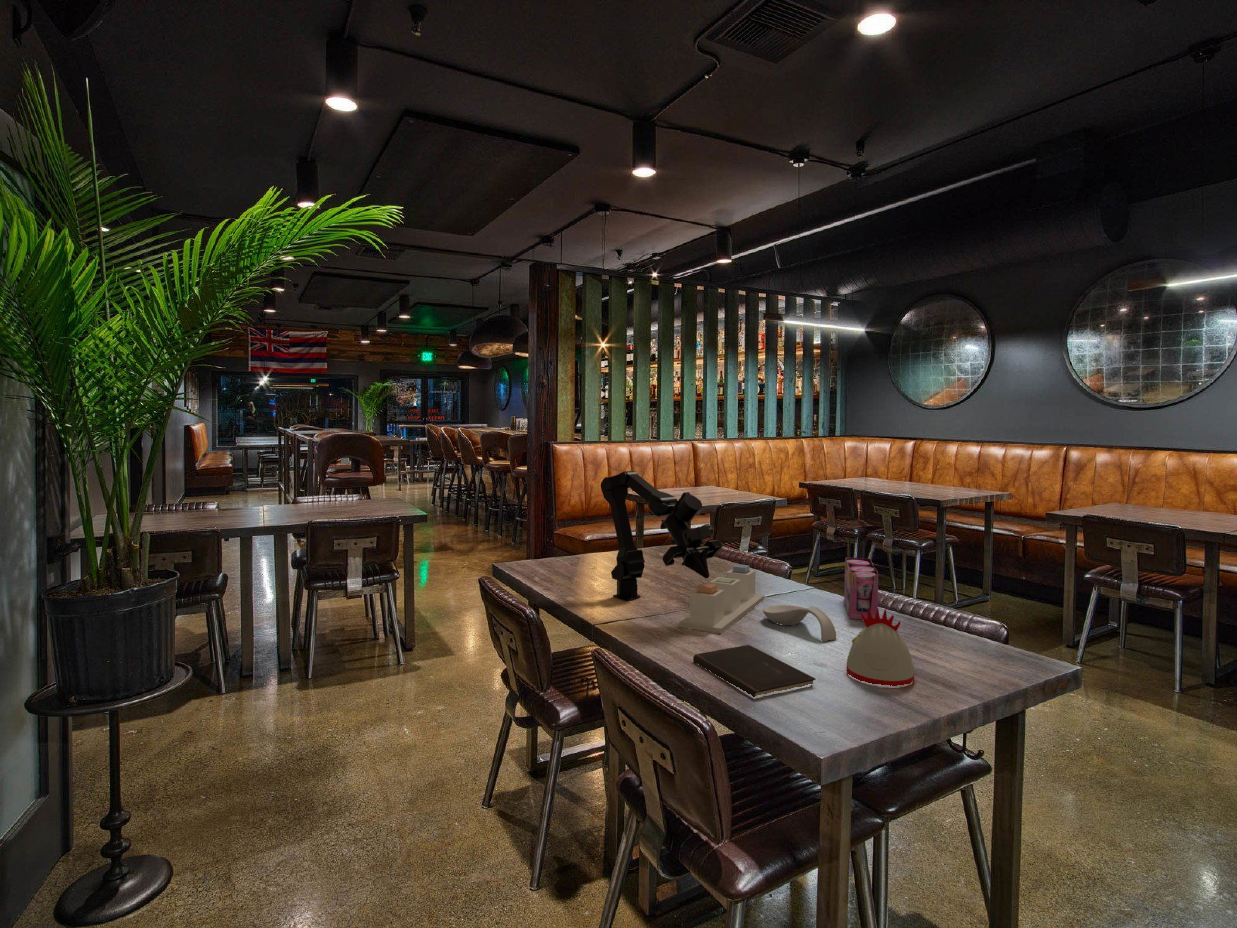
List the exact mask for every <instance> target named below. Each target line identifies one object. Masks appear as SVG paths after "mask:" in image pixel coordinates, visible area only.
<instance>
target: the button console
mask: <svg viewBox="0 0 1237 928" xmlns="http://www.w3.org/2000/svg"><path fill="white" fill-rule="evenodd" d="M725 575H726V577H725V578H726V579H734V582H732V583H731V584H729V583H722V582H716V581H717V580H718V579H720V578H724V577H722V576H717V577H716V578H714V579H712V580H711V581H709V584H715V585H717V592H716V593H715V594H713V595H711V594H704V593H698V588H696V589H694V590H693V591H691V592H690V596H689V597H690V599H689V600H690V607H689V608H690V609H689V610H690V612H689V613H690V614H689V615H687V616H686V617H684V618H683V619H681V620H680V621H679V628H683V629H687V630H688V629H689V630H694V629H698V630H697V631H700V630H703V631H702V632H706V631H708V633H711V632H712V633H713V634H717V633H722V634H723V633H725V632H726V631H727V630H728V629H730V628H731V627H732V626H734V625H735V624H736V623H737V622H738V621H740V620H741V619H742V618H744V617H745V616H746V615H748V613H747V612H749V611H750V610H751V609H752V610H754V609H755V608H756V607H757V606H759V605H760V604H761V603H763V602H764V601H765V595H762V594H756V570H754V569H749V573H747V574H743V573H734V572H733V568H732V569H730V570H728V571H726V574H725ZM763 600H764V601H763ZM762 601H763V602H762ZM760 602H761V603H760ZM759 603H760V604H759ZM758 604H759V605H758ZM756 605H757V606H756ZM755 606H756V607H755ZM754 607H755V608H754ZM753 608H754V609H753ZM752 610H751V611H752ZM751 611H750V612H751ZM750 612H749V613H750ZM743 616H744V617H743ZM740 618H741V619H740ZM739 619H740V620H739ZM735 622H736V623H735ZM734 623H735V624H734ZM730 626H731V627H730ZM729 627H730V628H729ZM726 629H727V630H726ZM725 630H726V631H725ZM724 631H725V632H724ZM712 633H711V634H712Z"/></svg>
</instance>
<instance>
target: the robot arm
mask: <svg viewBox="0 0 1237 928" xmlns="http://www.w3.org/2000/svg"><path fill="white" fill-rule="evenodd" d="M600 489H601V493H602V496H603V499H605V501H606V502H607V503H608V504H609V506H610V510H611V515H612V519H613V520H612V521H613V524H614V525H613V526H614V528H615V529H614V530H615V533H616V539H617V540H616V541H617V545H618V551H617V555H616V557H615V558H616V565H614V568H613V569H612V570H611V572H610V574H611V579H612V580H615V581H616V594H613V595H612V597H613V598H615V599H620V600H623V601H629V600H635V599H639V598H641V595H639V594H638V579H639V578H640V579H641V578H642V576H643V573H644V570H645V565H646V564H645V563H646V560H645V558H644V552H643V550H642V549H638V548H637V547H636V545H635V541H634V537H633V531H632V527H631V522H630V517H629V514H628V513H629V512H628V508H627V504H626V501H627V498H628V494H629V489H631V490H632V491H633V492H634V493H635V494H637V495H638V496H639V497H640V498H641V499H643V500H644V501H645V502H646V503H647V507H648V509H649V510H650V512H652V514H653V515H654V516H655V517H665V516H666V517H665V518H664V519H661V524H660V526H659V527H660V530H667V532H668V533H669V535H670V536H671V538H672V540H671V544H672V545H673V546H670V547H669V548H668V549H667V551H665V553H664V554H663V555H662V561H663V563H664V565H665V567H670V566H673V565H674V564H675V559H678V558H681V559H682V563H681V566H685V567H687V568H688V569H690V570H692V571H693V572H695V573H696V574H698V575H699V576H701V577H703V578H705V579H709V577H710V571H709V567H708V562H707V561H708V560H709V559H712V558H714V557H715V556H716V555H717V554H718V553H719V551H720V550H721V549H722V548H723V544H722V543H721V541H720V540H719V539H718V540H717V539H713V540H707V541H706V542H705V540H706V539H708V538H711V537H712V535H714V533H715V532H714V528H713V527H712V525H711V524H710V523H704V525H701V526H698V527H697V526H696V527H695V528H694V527H692V528H690V526H689V524H688V523H690V522H692V520H694V518H696V516H697V515H698V514H699V512H700V511H701V510H702V509H703V503H702V501H701V500H700V499H699V498H698V497H697V496H695V495H693V494H691V493H690V492H689V491H684V492H682V494H681V496H680V498H679V499H678V498H677V497H676V496H674V495H671V494H670V493H668V492H664V491H660V490H658V489H657V488H655V487H654V486H653V485H652V484H651V483H649V482H648V481H647V480H645V478H643V477H642V476H640V475H639V474H638V472H637V471H635V470H627V471H623V472H621V473H617V474H615V475H612V476H605V477H603V478H602V480H601V482H600ZM704 542H705V543H704ZM703 544H704V545H703ZM701 545H702V546H701Z"/></svg>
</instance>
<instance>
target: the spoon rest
mask: <svg viewBox="0 0 1237 928" xmlns="http://www.w3.org/2000/svg"><path fill="white" fill-rule="evenodd" d="M762 613H763V614H764V615H765V618H767V619H768V620H769V621H771V622H773V623H774V622H775V623H774V624H776V623H778V624H782V625H781V626H783V625H793V626H795V625H794V624H796V625H797V624H798V623H801V622H802V621H803V620H804V619H805V617H806V616H807V615H808V614H811V615H813V616H814V617H815V618H816V620H817V621H818V623H819V625H820V635H821V636H820V637H821V639H820V640H822V641H825V642H829V641H828V640H831V641H835V640H837V631H836V628H835V626H834V623H833V622H832V620H831V618H830V617H829V616H828V614H826V612H825V611H823V610H822V609H821V608H819V607H817V606H808V607H803V606H798V605H789V604H777V605H776V604H775V605H771V606H766V607H764V608H763V609H762ZM778 624H777V625H778ZM822 641H821V642H822Z"/></svg>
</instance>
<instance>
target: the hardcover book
mask: <svg viewBox="0 0 1237 928" xmlns="http://www.w3.org/2000/svg"><path fill="white" fill-rule="evenodd" d="M692 659H693V660H692V662H693V661H694V662H695V663H694V662H693V663H694V664H696V663H698V664H699V665H700V666H699V665H698V666H699V667H701V666H702V667H704V668H706V669H707V670H710V671H711V672H712V673H714V674H716V675H717V676H719V677H721V678H723V679H724V680H725V681H728V682H729V683H731V684H733V685H735V686H736V687H739V688H740V689H742V690H743V691H746V692H747V693H748V694H751V695H752V696H753V697H755V696H757V695H761V694H767V693H771V692H774V691H782V690H787V689H791V688H794V687H802V686H805V685H808V684H813V685H814V681H816V678H815V677H814V676H811V675H810V674H808V673H806V672H804V671H802V670H800V669H797V668H796V667H794V666H791V665H789V664H787V663H785V662H784V661H782V660H780V659H778V658H776V657H774V656H772V655H771V654H768V653H766V652H764V651H762V650H760V649H758V648H756V647H754V646H752V645H750V644H745V645H740V646H735V647H728V648H723V649H717V650H712V651H707V652H702V653H700V652H699V653H696V654H694V655H693V657H692ZM702 667H701V668H702ZM704 668H703V669H704ZM707 670H706V671H707ZM712 673H711V674H712ZM717 676H716V677H717ZM725 681H724V682H725Z"/></svg>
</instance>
